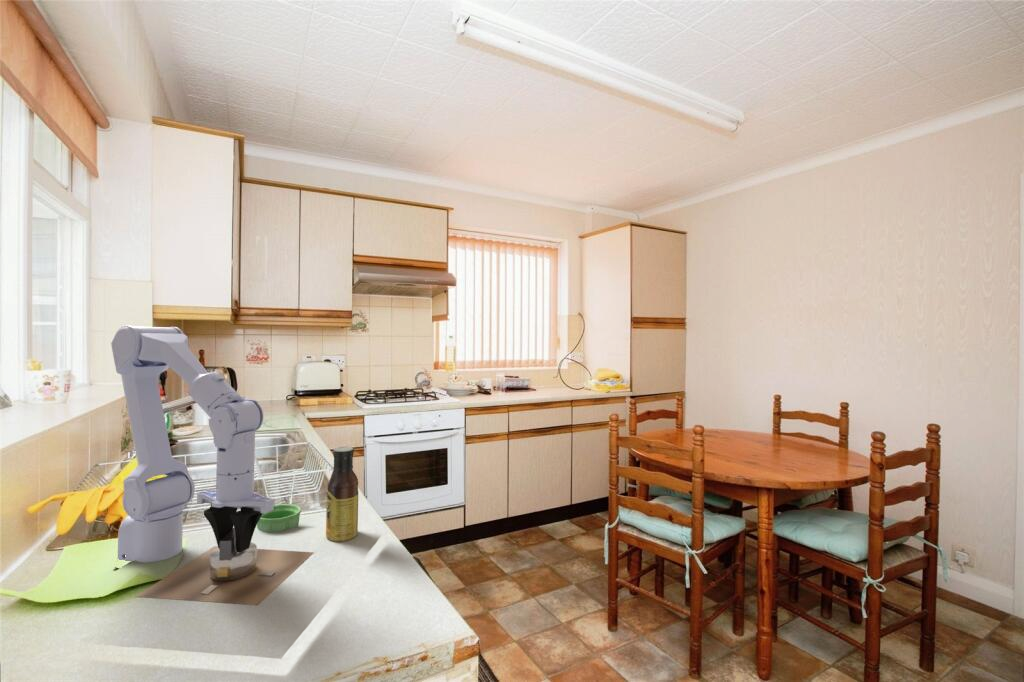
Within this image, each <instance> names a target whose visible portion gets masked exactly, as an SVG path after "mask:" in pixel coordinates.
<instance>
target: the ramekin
mask: <svg viewBox="0 0 1024 682" xmlns="http://www.w3.org/2000/svg"><path fill="white" fill-rule="evenodd" d="M301 513H302V508H301V507H300V506H298V505H295V504H289V503H288V504H287V503H286V504H276V505H275V504H274V510H272V511H270V512H268V513H266V514H262V516H261V518H260V519H259V521H258V523H257V525H256V528H257V530H259V531H261V532H267V533H270V532H271V533H272V532H273V533H274V532H282V531H286V530H289V529H293V528H299V525H300V517H301V516H300V515H301Z"/></svg>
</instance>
